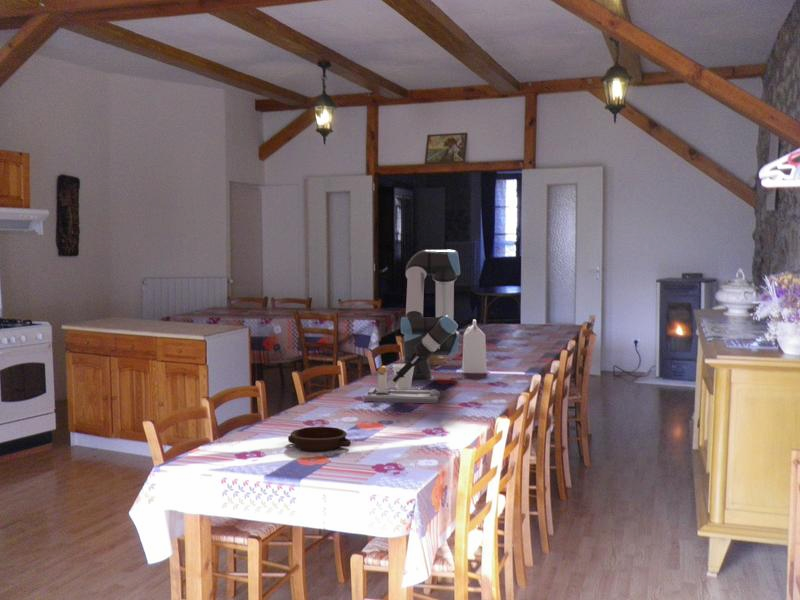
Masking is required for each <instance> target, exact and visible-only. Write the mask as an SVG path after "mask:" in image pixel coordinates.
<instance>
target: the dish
mask: <svg viewBox="0 0 800 600" xmlns="http://www.w3.org/2000/svg"><path fill="white" fill-rule="evenodd" d="M347 435H348V434H347V432H346V430H343V429H342V428H339V427H332V426H331V427H330V426H311V427H310V426H308V427H302V428H299V429H295V430H293V431H291V433H290V435H288V436H287V440H288V443H290V444H293V445H295V446H296V448H297V449H299V450H301V451H305V452H314V453H315V452H326V451H331V450H335V449H339V448H340V447H344V448H346V447H350V446H351V443H352V441H351V440H350V439H348V438H346V437H347Z"/></svg>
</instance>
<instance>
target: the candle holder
mask: <svg viewBox="0 0 800 600" xmlns="http://www.w3.org/2000/svg"><path fill="white" fill-rule="evenodd" d="M428 363H429V366H431V367H433V366H435V367H436V366H440V365H441V366H442V365H445V364H447V360H446V359H445V357H444V356H440V355H431V356H430V357H429V358H428Z"/></svg>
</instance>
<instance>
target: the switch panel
mask: <svg viewBox="0 0 800 600" xmlns="http://www.w3.org/2000/svg"><path fill="white" fill-rule="evenodd" d="M377 390H378V389H377V387H370V388H369V390H368V391H367V394H366V393H365V394H364V402H368V401H376V402H375V403H377V402H379V403H408V404H409V403H411V404H413V403H415V404H437V403H438V401H439V399H438V398H440V390H437V389H436V388H435V389H433V388H432V389H431V390H413V389H412V390H411V389H410V390H397V389H389V390H390V393H389V394H388V395H375V393H376V392H377Z"/></svg>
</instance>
